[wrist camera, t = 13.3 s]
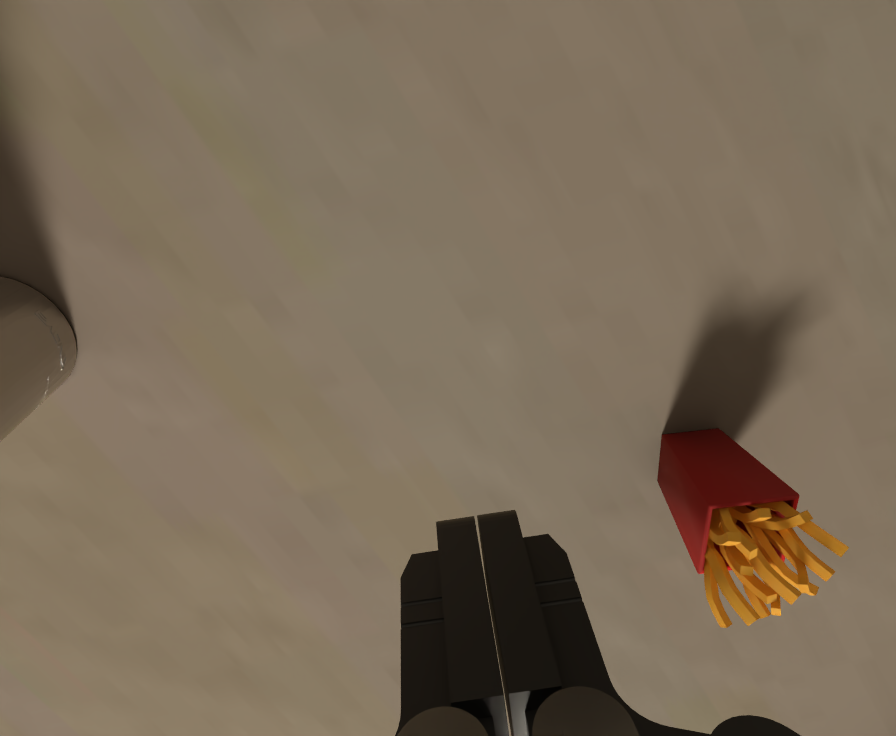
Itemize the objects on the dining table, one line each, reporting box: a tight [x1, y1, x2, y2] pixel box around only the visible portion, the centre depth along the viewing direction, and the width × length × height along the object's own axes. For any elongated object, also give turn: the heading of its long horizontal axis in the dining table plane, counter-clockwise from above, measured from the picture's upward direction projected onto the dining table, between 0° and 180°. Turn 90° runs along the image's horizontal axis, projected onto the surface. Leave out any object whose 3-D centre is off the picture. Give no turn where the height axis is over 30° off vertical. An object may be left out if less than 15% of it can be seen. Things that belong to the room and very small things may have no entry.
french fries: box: [657, 428, 849, 628], centre depth 45 cm, size 9×8×15 cm
